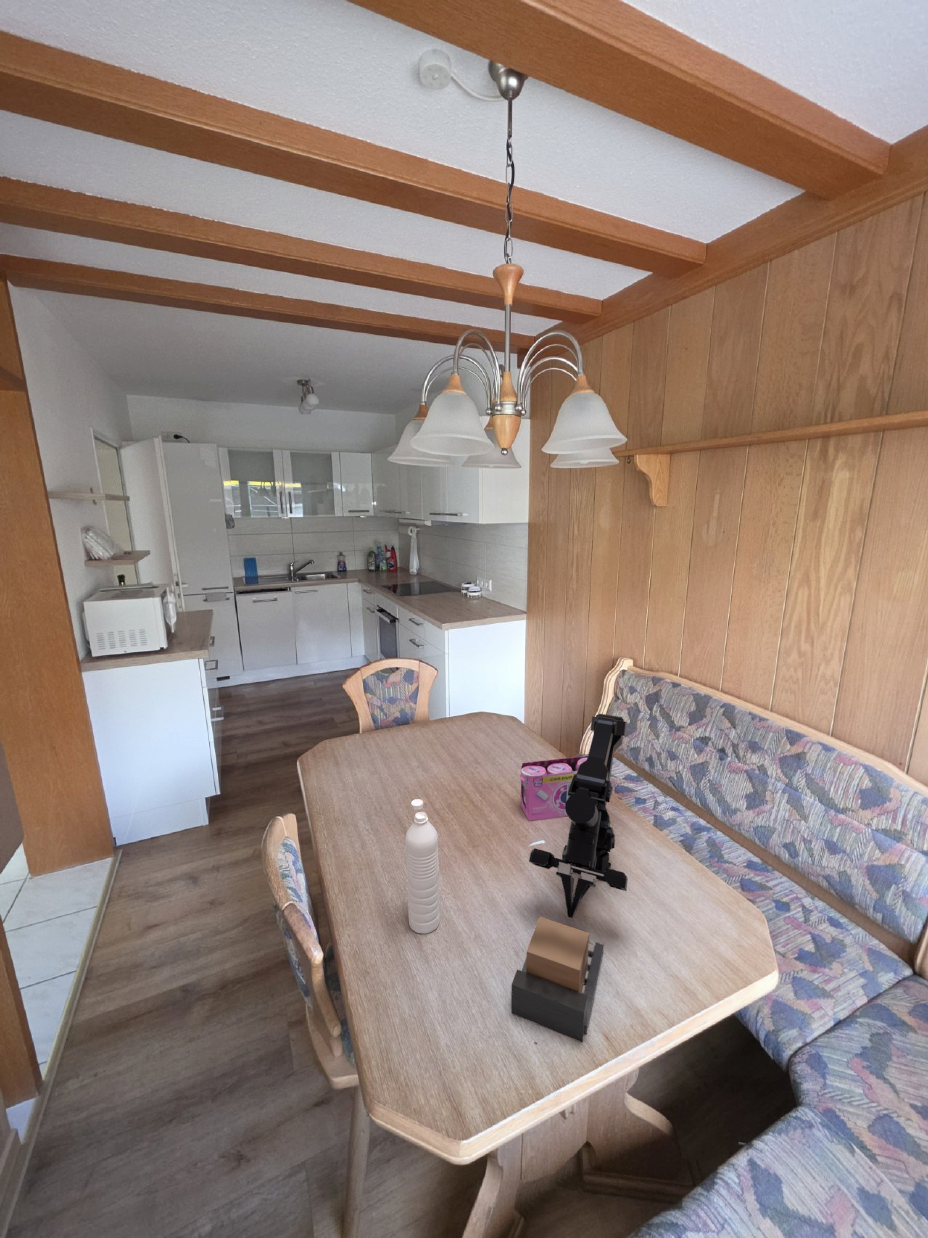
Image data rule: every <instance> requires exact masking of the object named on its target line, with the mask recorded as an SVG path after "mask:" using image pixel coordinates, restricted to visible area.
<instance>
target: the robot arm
mask: <svg viewBox="0 0 928 1238" xmlns="http://www.w3.org/2000/svg"><path fill="white" fill-rule="evenodd" d="M590 723H591V724H590V731H592V733H593V735H592V739H591V742H590V747H589V750H588V754H587V756H588V757H587V760H586V761H584V762H583V763H581V764H580V765H579V768H578V771H577V774H574V776H573V779H572V782H571V785H570V788H569V790H568V796H569V798H568V800H567V801H566V804H565V809H566V813H567V815H568V816H567V817H568V818H569V820H570V825H569V826H570V827H569V830H568V831H569V833H568V836H567V842H566V844H565V845H564V847H563V849H562V855H561V858H557V857H555V855H554V854H553V853H552V852H550V851H546V850H543V849H539V848H533V849H532V850H531V851H530V855H529V859H528V862H529V863H530V864H532V865H534V866H536V867H540V868H543V869H546V870H550V869H551V868H556V869H557V871H556V873H555V875H556V876H558V877H559V878H560V879H561V883H562V887H563V892H564V899H565V905H566V913H567V917H568V918H570V919H573V918H574V916H575V914H576V912H577V910H578V908H579V905H580V903H581V902H582V900H583V898H584V896H585V895H586V893H587V892H588V890H590V889H591V887H592V888H596V887H597V881H601V882H605V883H607V885H608V886H609V887H610V888H613V889H617V890H620V891H622V892H623V891H624V892H627V889H628V881H629V880H628V876H627V875H626V873H625V872H623V871H619V870H616V869H612V868H611V867H612V863H611V862H610V853H611V850H613V849H615V847H616V846H615V845H616V837H615V833H614V829H613V826H611V819H610V815H609V813H608V810H607V803H610V801H611V797H612V795H613V790H614V789H613V786H612V782H611V777H612V769H613V764H614V756H615V752H616V751H617V750H618V749H619V748H620V747H621V746H622V745H623V740H624V737H626V736H627V731H628V721H625V720H624V718H623V716H618V715H611V714H610V715H609V714H605V713H598V714H596V716H593V715H592V717H591V722H590ZM574 874H576V875H580V877H578V878H577V881H576V886H575V889H574V884H575V878H574V877H573V875H574Z"/></svg>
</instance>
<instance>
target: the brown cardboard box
mask: <svg viewBox="0 0 928 1238" xmlns="http://www.w3.org/2000/svg"><path fill="white" fill-rule="evenodd" d="M537 920H538V921H537V922H536V926H535V928H534V931H533V934H532V936H531V939H530V941H529V945H528V947H527V949H526V957H527V960H526V959H525V960H526V973H528V974H531V975H533V976H536V977H539V978H541V979H544V980H547V981H549V982H552V983H555V984H557V985H560V986H563V987H565V988H568V989H571V990H573V991H576V992H579V993H582V989H583V984H584V985H585V983H584V980H585V976H586V971H587V970H588V969H587V965H588V956H589V955H588V946H589V943H590V941H589V940H590V933H589V932H587V931H584V930H581V929H578V928H575V927H573V926H568V925H566V924H562V923H559V922H557V921H554V920H551V919H547V918H544V917H541V916H539V918H538V919H537Z"/></svg>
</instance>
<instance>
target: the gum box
mask: <svg viewBox="0 0 928 1238" xmlns="http://www.w3.org/2000/svg"><path fill="white" fill-rule="evenodd" d="M587 757H588V755H581V756H571V757H566V758H565V757H564V758H556V759H555V758H554V759H547V760H536V761H527V762H521V766H520V774H519V775H520V779H519V780H520V806H521V809H522V811H523V813H524V815H525V817H526V819H527V821H528V822H530V821H537V820H548V819H555V818H557V819H558V818H564V817H568V815H567V813H566V809H565V804H566V801H567V800H568V798H569V796H568V790H569V788H570V785H571V782H572V779H573V776H574V774H577V771H578V768H579V765H580V764H581V763H583V762H584V761H586V760H587Z"/></svg>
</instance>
